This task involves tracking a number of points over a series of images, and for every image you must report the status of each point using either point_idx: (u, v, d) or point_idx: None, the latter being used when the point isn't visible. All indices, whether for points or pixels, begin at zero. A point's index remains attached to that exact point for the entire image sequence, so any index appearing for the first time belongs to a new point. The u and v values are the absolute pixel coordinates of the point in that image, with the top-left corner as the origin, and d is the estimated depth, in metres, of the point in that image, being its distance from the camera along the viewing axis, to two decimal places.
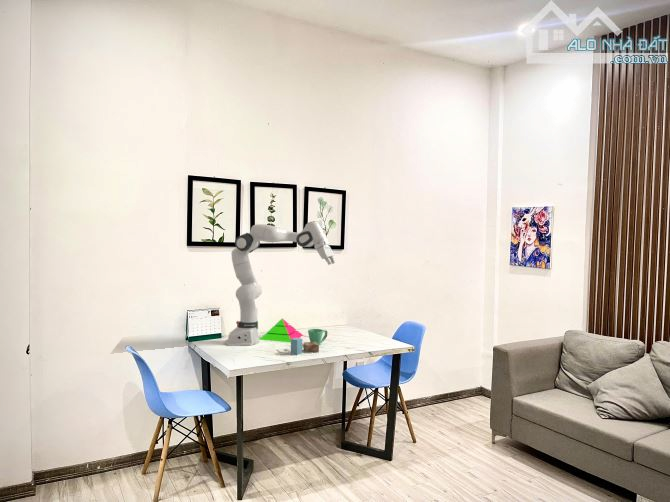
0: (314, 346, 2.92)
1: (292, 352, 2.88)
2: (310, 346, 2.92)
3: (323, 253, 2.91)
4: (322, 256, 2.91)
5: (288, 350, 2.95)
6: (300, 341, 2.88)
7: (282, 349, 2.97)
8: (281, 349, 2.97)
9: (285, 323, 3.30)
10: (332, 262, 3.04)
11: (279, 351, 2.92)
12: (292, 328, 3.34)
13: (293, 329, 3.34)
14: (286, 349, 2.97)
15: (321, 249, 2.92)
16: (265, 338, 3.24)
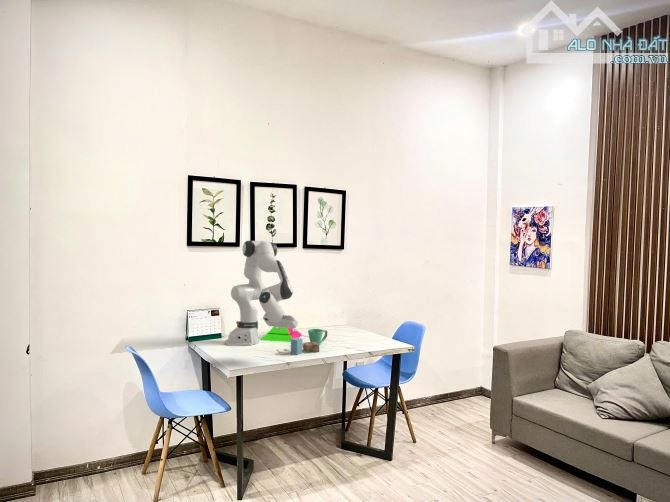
0: (314, 346, 2.92)
1: (292, 352, 2.88)
2: (311, 346, 2.92)
3: None
4: None
5: (288, 350, 2.95)
6: (300, 341, 2.88)
7: (282, 349, 2.97)
8: (281, 349, 2.97)
9: None
10: None
11: (279, 351, 2.92)
12: None
13: None
14: (286, 349, 2.97)
15: None
16: (266, 338, 3.23)
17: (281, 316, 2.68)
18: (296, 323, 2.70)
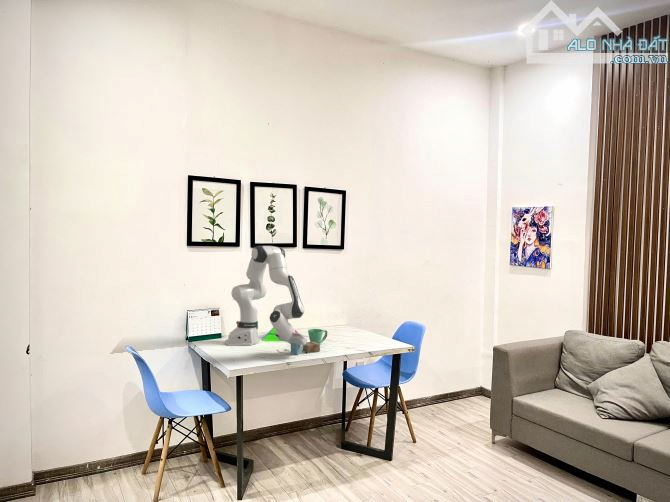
0: (315, 346, 2.93)
1: (292, 352, 2.88)
2: (312, 346, 2.92)
3: None
4: None
5: (288, 350, 2.95)
6: None
7: (282, 349, 2.97)
8: (281, 349, 2.97)
9: None
10: (300, 344, 2.88)
11: (279, 351, 2.92)
12: None
13: None
14: (286, 349, 2.97)
15: None
16: (268, 339, 3.21)
17: (291, 334, 2.78)
18: (305, 340, 2.80)
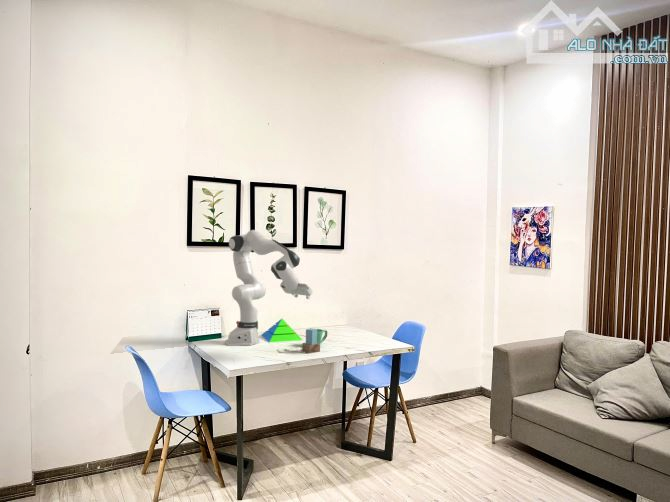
0: (316, 346, 2.93)
1: (307, 342, 2.94)
2: (313, 346, 2.92)
3: None
4: None
5: (288, 350, 2.95)
6: (315, 331, 2.94)
7: (282, 349, 2.97)
8: (281, 349, 2.97)
9: None
10: None
11: (279, 351, 2.92)
12: None
13: None
14: (286, 349, 2.97)
15: None
16: (275, 340, 3.19)
17: (296, 284, 2.84)
18: (311, 291, 2.86)
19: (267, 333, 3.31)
